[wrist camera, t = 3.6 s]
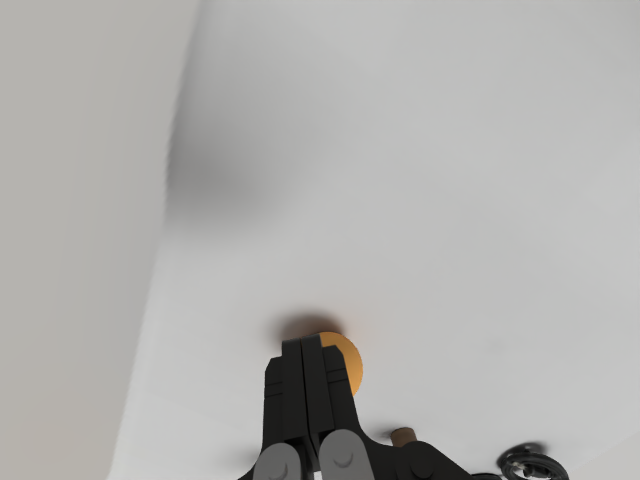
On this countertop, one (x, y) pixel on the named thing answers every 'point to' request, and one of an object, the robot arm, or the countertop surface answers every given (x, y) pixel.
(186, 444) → the countertop surface
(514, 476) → the milk frother
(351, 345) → the ball
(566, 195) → the countertop surface
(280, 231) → the countertop surface
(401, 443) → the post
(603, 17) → the countertop surface
